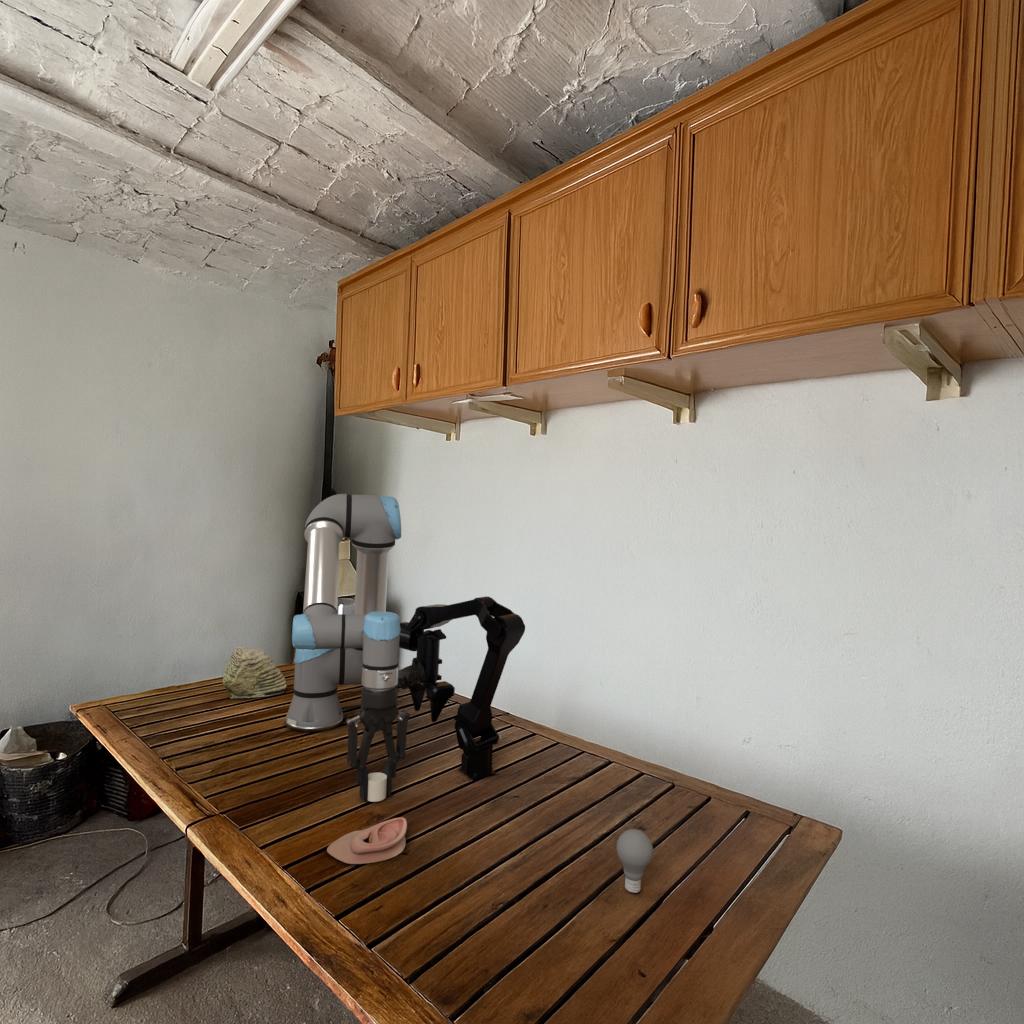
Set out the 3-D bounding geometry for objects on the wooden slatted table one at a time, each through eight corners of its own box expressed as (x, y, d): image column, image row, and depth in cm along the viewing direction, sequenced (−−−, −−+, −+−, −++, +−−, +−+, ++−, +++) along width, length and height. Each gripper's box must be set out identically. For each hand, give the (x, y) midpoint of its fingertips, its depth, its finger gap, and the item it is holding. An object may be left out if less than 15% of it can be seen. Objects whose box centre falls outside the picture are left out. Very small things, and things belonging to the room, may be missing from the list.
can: (380, 803, 132) (381, 783, 132) (360, 800, 133) (361, 780, 133) (389, 793, 136) (390, 773, 136) (369, 790, 137) (370, 771, 137)
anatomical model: (319, 836, 111) (348, 806, 122) (318, 859, 111) (348, 826, 122) (390, 848, 108) (414, 816, 119) (389, 871, 108) (413, 836, 119)
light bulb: (610, 879, 108) (613, 822, 108) (644, 879, 109) (647, 822, 109) (619, 902, 102) (622, 840, 102) (655, 901, 103) (658, 840, 103)
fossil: (218, 695, 195) (220, 647, 195) (278, 685, 208) (279, 640, 207) (228, 703, 189) (230, 653, 188) (289, 692, 201) (290, 645, 201)
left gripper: (343, 696, 126) (339, 812, 127) (425, 686, 135) (420, 794, 136) (333, 686, 133) (328, 796, 133) (411, 677, 142) (407, 780, 142)
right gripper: (383, 650, 163) (380, 710, 163) (415, 667, 148) (412, 733, 148) (422, 645, 169) (419, 703, 170) (457, 662, 154) (454, 725, 154)
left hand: (375, 795), depth 134 cm, fingers closed on can, 4 cm apart
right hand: (425, 716), depth 160 cm, fingers open, 9 cm apart
